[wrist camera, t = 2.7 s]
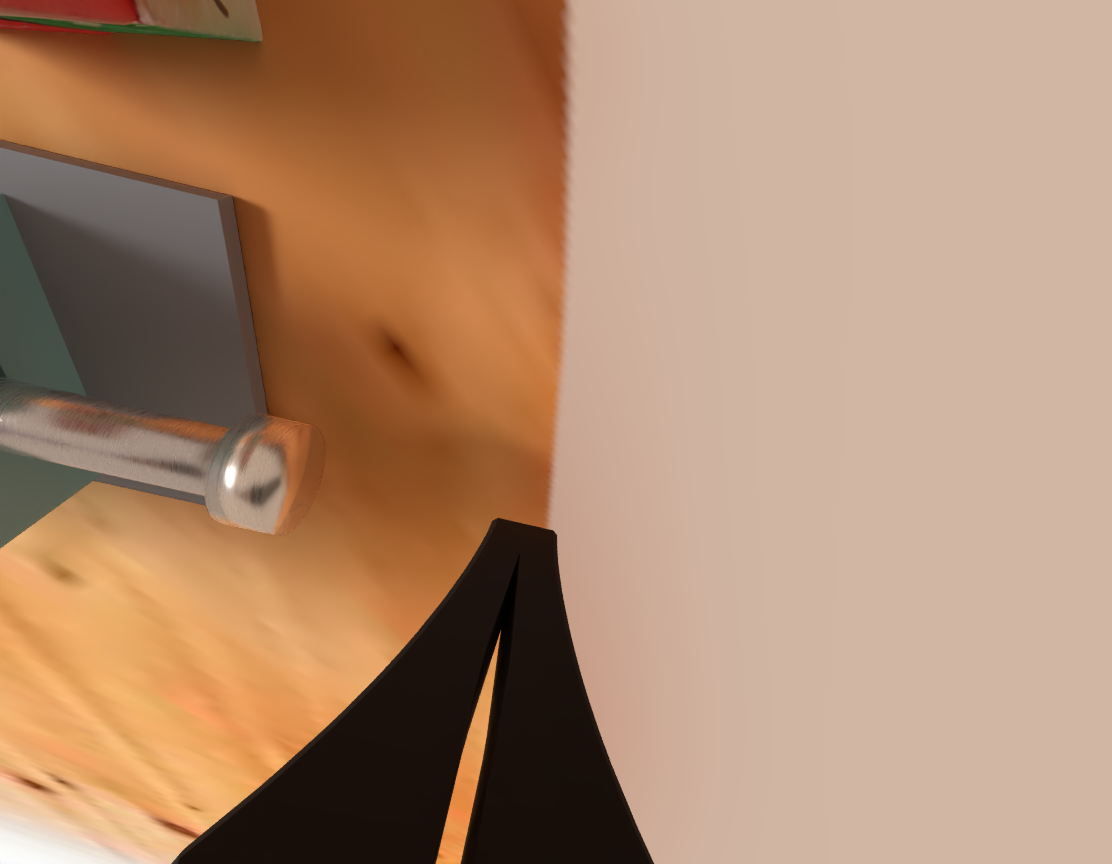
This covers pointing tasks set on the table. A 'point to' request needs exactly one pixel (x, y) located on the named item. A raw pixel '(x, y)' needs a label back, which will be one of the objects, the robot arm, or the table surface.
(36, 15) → the stack of blocks
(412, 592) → the table surface
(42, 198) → the bearing block
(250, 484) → the shaft
